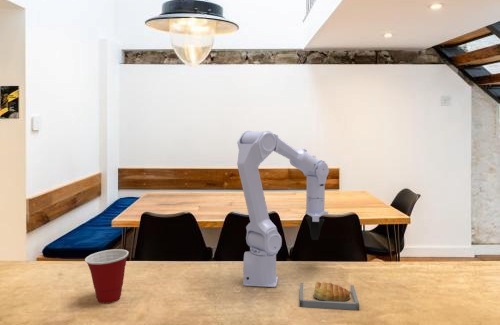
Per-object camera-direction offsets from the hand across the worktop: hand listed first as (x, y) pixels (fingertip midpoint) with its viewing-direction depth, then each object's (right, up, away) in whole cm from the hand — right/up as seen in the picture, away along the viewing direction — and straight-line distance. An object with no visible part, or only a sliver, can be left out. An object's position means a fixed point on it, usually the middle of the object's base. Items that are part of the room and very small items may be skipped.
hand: (314, 239), depth 133 cm
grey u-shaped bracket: (0, -11, -24) cm, 26 cm away
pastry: (0, -12, -23) cm, 25 cm away
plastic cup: (-58, -11, -25) cm, 64 cm away
